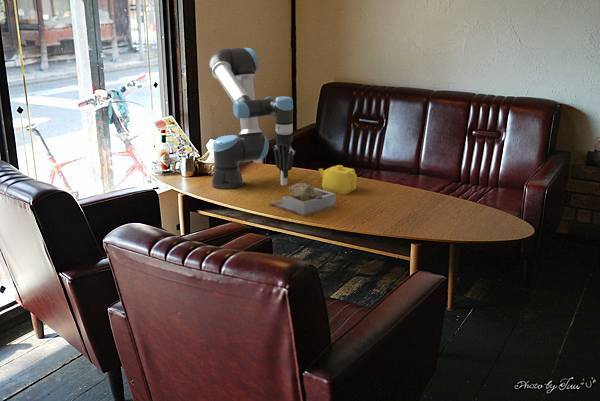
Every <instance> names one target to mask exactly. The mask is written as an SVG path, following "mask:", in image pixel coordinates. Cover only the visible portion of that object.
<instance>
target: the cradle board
mask: <svg viewBox="0 0 600 401" xmlns="http://www.w3.org/2000/svg"><path fill="white" fill-rule="evenodd" d="M268 206H270V207H273V208H276V209H278V210H282V211H285V212H288V213H291V214H294V215H296V216H300V217H302V218H306V217H308V216H312V215H315V214H318V213H320V212H324V211H326V210H330V209H333V208H335V207H336V203H335V204H334V205H331V206H328V207H325V208H322V209H319V210H316V211H313V212H310V213H307V214H301V213H298V212H295V211H292V210H289V209H286V208H283V198H281V199H277V200H274V201H270V202H268Z"/></svg>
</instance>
